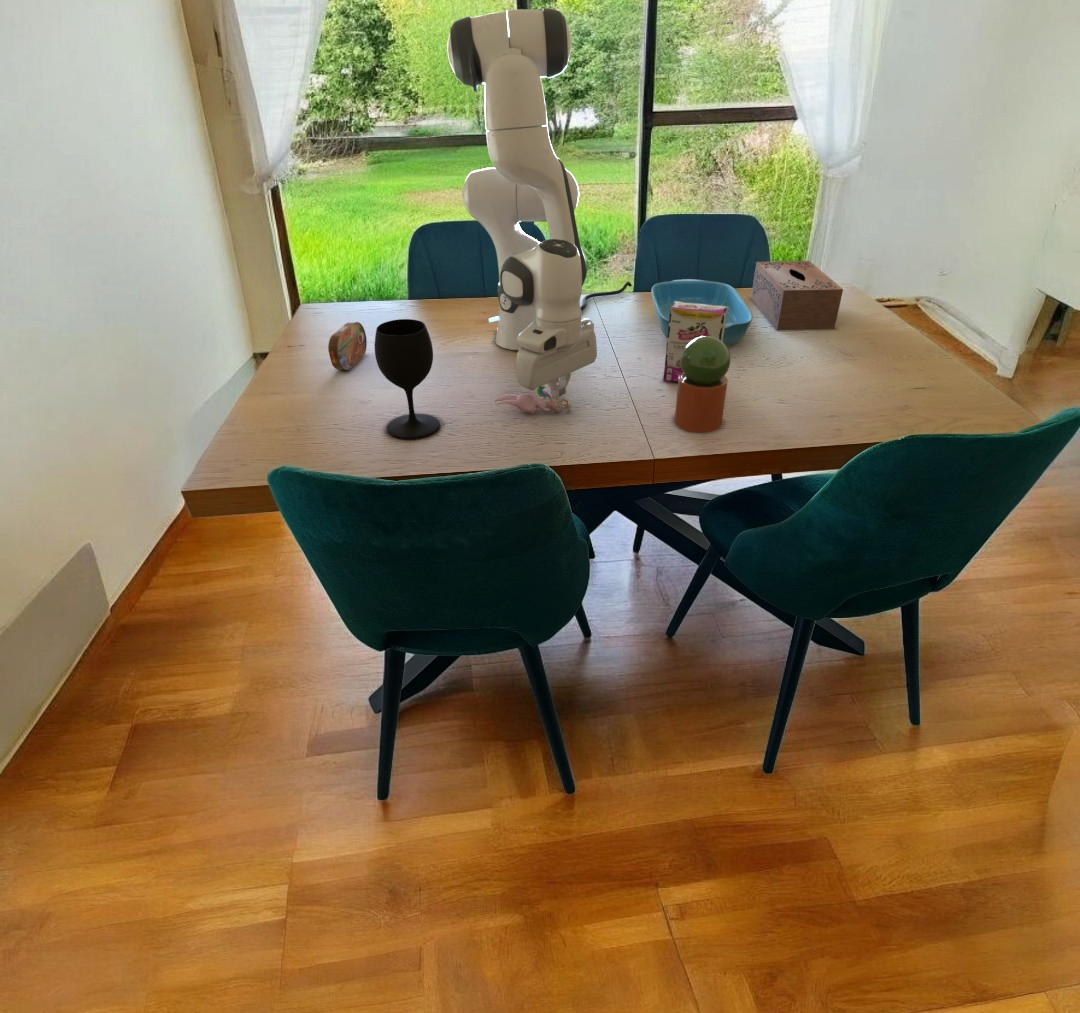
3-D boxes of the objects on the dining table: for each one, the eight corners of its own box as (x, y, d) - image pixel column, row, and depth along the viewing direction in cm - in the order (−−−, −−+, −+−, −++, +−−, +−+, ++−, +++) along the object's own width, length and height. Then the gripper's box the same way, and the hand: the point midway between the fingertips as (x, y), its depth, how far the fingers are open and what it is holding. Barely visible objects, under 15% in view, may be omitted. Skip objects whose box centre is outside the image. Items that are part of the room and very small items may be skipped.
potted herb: (691, 407, 145) (700, 325, 135) (730, 421, 139) (743, 336, 130) (665, 422, 139) (672, 338, 130) (704, 437, 134) (715, 350, 125)
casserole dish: (758, 354, 167) (762, 324, 163) (662, 355, 168) (664, 325, 164) (726, 304, 198) (729, 277, 194) (644, 305, 198) (646, 278, 195)
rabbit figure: (565, 409, 148) (492, 403, 145) (569, 382, 145) (496, 375, 142) (570, 422, 143) (495, 417, 140) (575, 395, 139) (498, 388, 137)
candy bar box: (662, 382, 155) (668, 307, 146) (666, 373, 159) (673, 300, 150) (715, 389, 152) (725, 312, 143) (718, 379, 156) (728, 305, 147)
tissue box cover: (751, 298, 202) (756, 261, 196) (802, 297, 202) (809, 260, 196) (777, 330, 180) (783, 290, 175) (834, 329, 180) (843, 289, 175)
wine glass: (388, 416, 143) (374, 318, 132) (441, 413, 144) (431, 316, 133) (384, 441, 135) (368, 338, 124) (439, 438, 135) (429, 336, 124)
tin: (343, 376, 160) (336, 340, 156) (330, 375, 161) (323, 339, 156) (369, 351, 173) (364, 317, 168) (357, 350, 173) (351, 316, 169)
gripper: (581, 312, 147) (580, 375, 155) (509, 339, 135) (512, 406, 142) (605, 319, 143) (603, 383, 151) (534, 347, 131) (535, 416, 139)
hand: (558, 395), depth 147 cm, fingers closed
